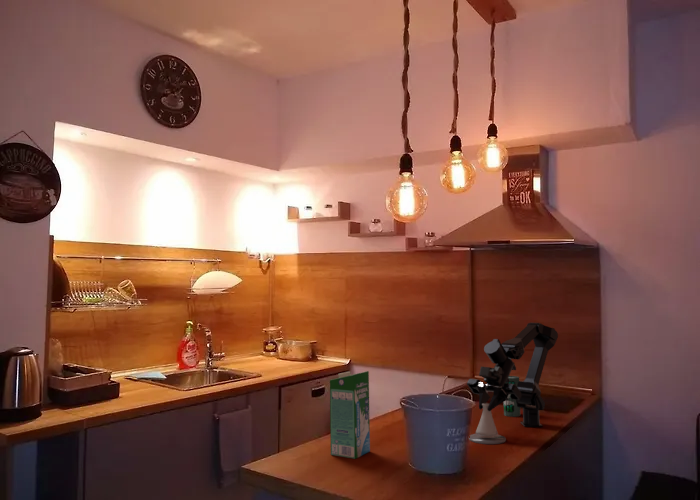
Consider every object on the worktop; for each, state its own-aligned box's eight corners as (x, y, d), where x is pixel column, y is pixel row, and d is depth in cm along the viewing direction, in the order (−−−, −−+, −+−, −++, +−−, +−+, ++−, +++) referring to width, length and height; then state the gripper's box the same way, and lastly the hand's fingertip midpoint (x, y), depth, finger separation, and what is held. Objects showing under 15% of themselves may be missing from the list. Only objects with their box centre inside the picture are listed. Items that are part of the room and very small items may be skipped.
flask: (471, 433, 184) (472, 403, 185) (482, 430, 190) (482, 400, 190) (491, 438, 179) (491, 406, 180) (501, 434, 185) (501, 404, 185)
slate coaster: (466, 434, 190) (466, 433, 190) (501, 434, 190) (501, 433, 190) (472, 444, 178) (471, 442, 178) (509, 444, 178) (509, 442, 178)
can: (501, 413, 222) (500, 376, 223) (515, 413, 223) (514, 375, 225) (508, 417, 216) (507, 378, 218) (523, 416, 217) (521, 377, 219)
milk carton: (345, 447, 177) (344, 368, 179) (370, 451, 172) (368, 370, 174) (330, 454, 169) (329, 372, 171) (355, 459, 164) (354, 374, 166)
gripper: (468, 355, 196) (450, 391, 187) (515, 359, 182) (497, 398, 174) (482, 375, 200) (465, 411, 192) (528, 380, 186) (512, 419, 178)
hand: (484, 409), depth 184 cm, fingers closed on flask, 3 cm apart
